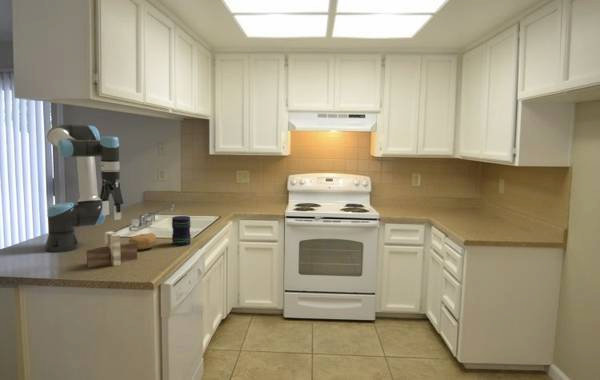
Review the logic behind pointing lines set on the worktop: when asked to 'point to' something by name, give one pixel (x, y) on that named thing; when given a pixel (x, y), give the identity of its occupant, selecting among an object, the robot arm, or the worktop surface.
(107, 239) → the birch plate
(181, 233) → the storage jar
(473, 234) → the worktop surface
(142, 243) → the potato
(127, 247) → the walnut board
